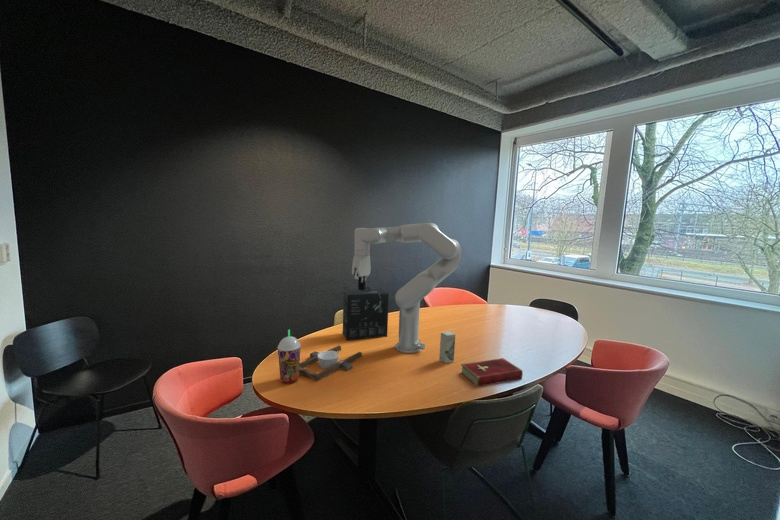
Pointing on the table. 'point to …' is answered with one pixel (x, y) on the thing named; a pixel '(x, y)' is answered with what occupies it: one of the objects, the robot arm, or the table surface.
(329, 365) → the ramekin
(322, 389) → the table surface
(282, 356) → the smoothie
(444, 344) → the box
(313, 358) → the beam track
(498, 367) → the hardcover book
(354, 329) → the headset box
